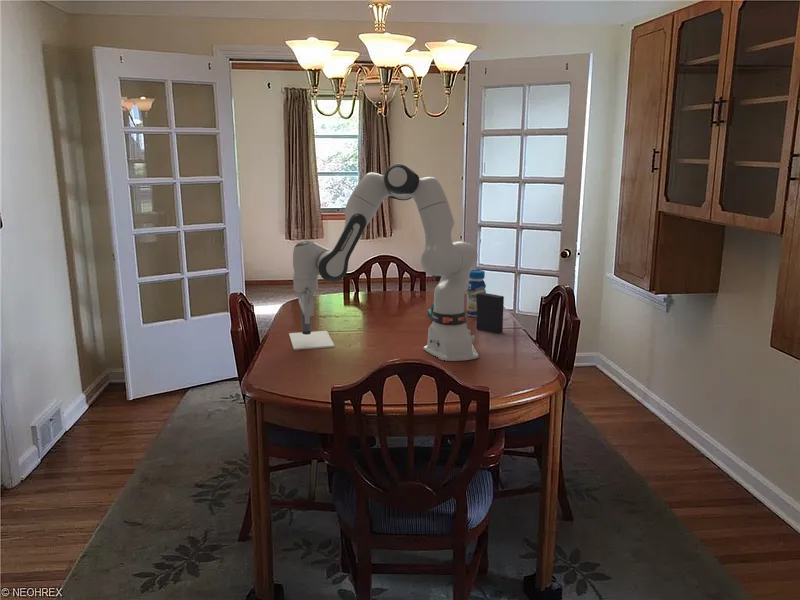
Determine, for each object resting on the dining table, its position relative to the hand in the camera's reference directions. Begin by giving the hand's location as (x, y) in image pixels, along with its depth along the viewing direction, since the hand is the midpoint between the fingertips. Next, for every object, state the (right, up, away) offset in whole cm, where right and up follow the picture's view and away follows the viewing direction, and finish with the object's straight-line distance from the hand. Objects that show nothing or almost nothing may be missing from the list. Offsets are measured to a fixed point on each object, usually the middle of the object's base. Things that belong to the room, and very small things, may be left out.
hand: (306, 321), depth 237 cm
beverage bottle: (+69, +1, +48) cm, 84 cm away
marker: (0, -4, +1) cm, 4 cm away
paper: (+1, -8, +8) cm, 11 cm away
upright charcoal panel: (+71, -5, +22) cm, 75 cm away
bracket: (+51, 0, +43) cm, 67 cm away
